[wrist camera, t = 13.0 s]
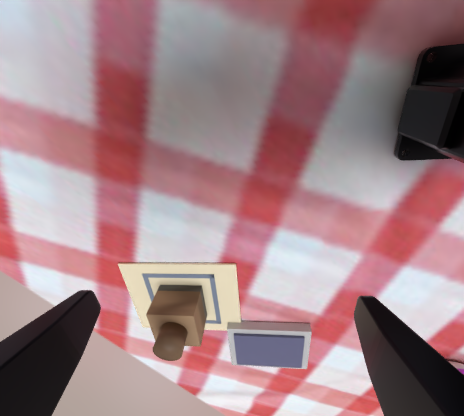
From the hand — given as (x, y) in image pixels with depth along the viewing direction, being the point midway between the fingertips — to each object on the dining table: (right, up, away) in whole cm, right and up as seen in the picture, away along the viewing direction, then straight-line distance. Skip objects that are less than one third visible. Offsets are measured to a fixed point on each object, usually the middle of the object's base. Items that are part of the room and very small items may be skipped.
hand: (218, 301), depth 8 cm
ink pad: (+5, -13, +20) cm, 24 cm away
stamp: (-5, -7, +18) cm, 20 cm away
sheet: (-5, -7, +18) cm, 20 cm away
